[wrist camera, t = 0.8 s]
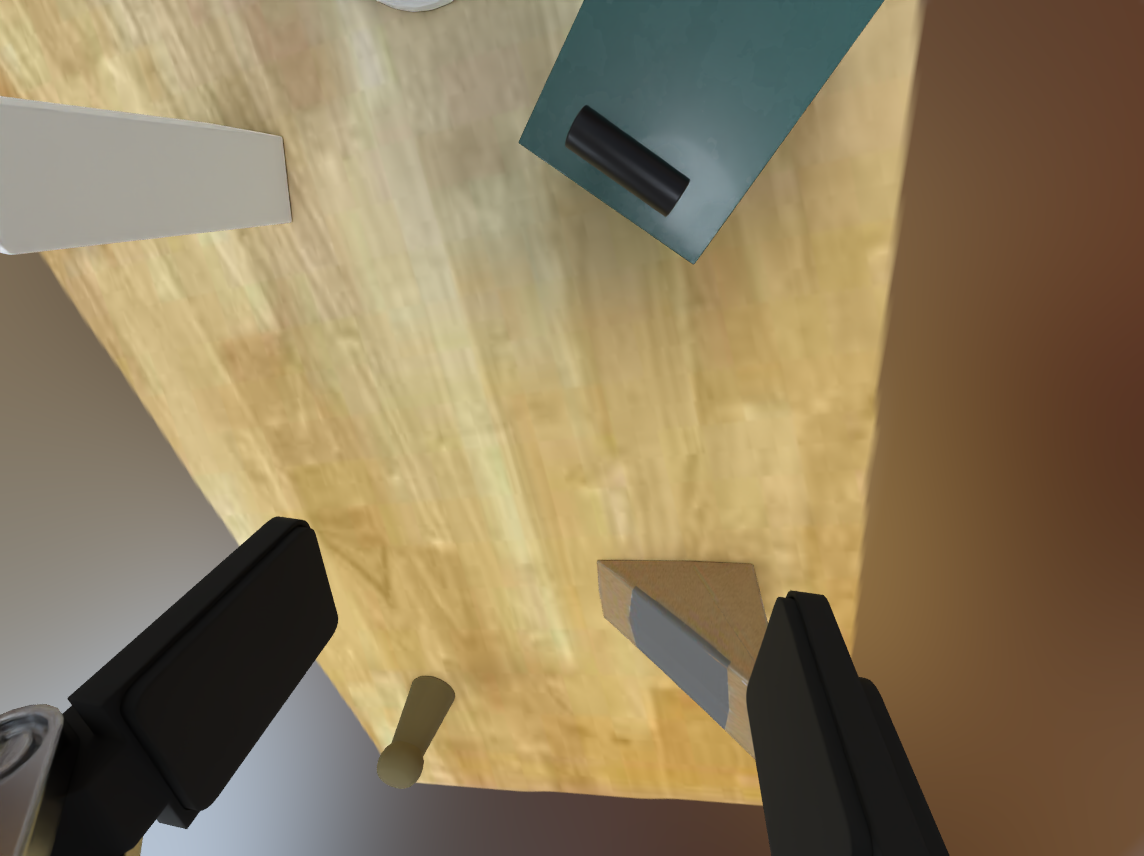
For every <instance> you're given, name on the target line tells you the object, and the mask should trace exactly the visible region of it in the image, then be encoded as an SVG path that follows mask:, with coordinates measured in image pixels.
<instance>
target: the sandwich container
mask: <svg viewBox="0 0 1144 856" xmlns="http://www.w3.org/2000/svg"><path fill="white" fill-rule="evenodd" d="M597 567H598V582H599V593H600V598H601V604H602V609H603V615H604V618H606V619H607V620H608V621H609V622H610V623H611V624H612V625H613V626H614V627H616V628H617V629H618V630H619V631H620V632H621V633H622V634H623V635H624V636H625V637H626V638H628V639H629V640H630V641H631V642H632V643H633V644H634V645H635V646H636V647H637V648H639V649H640V650H641V651H642V652H643V653H644V654H645V655H646V656H647V657H648V658H649V659H650V660H651V661H653V662H654V663H655V664H656V665H657V666H658V667H659V668H660V669H661V670H662V671H663V672H664V673H665V674H666V675H667V676H669V677H670V678H671V679H672V680H673V681H674V682H675V683H676V684H677V685H678V686H679V687H680V688H681V689H682V690H683V691H684V692H685V693H686V694H687V695H689V696H690V697H691V698H692V699H693V700H694V701H695V702H696V703H697V704H698V705H699V706H700V707H702V708H703V709H704V710H705V711H706V712H707V713H708V714H709V715H710V716H711V717H712V718H713V719H714V720H715V721H716V722H717V723H718V724H719V725H720V726H721V727H722V728H723V729H724V730H725V731H726V732H727V733H728V734H729V735H730V736H731V737H732V738H734V739H735V740H736V741H737V742H738V743H739V744H740V745H741V746H742V747H743V748H744V749H745V750H746V751H747V752H748V753H749V754H750V755H751V756H752V757H753V758H754V759H755V754H754V748H753V742H752V736H751V730H750V724H749V718H748V712H747V705H746V691H747V685H748V682H749V679H750V676H751V673H752V670H753V667H754V664H755V661H756V658H757V655H758V652H759V649H760V647H761V644H762V641H763V638H764V635H765V632H766V629H767V626H768V622H767V618H766V614H765V610H764V606H763V602H762V598H761V594H760V590H759V586H758V582H757V578H756V574H755V570H754V566H753V565H752V564H738V563H717V562H696V561H603V560H598V561H597Z"/></svg>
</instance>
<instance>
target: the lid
mask: <svg viewBox="0 0 1144 856" xmlns="http://www.w3.org/2000/svg"><path fill="white" fill-rule="evenodd" d="M883 2H884V0H584V1H583V4H582V6H581V8H580V10H579V12H578V14H577V17H576V19H575V21H574V23H573V25H572V27H571V30H570V32H569V34H568V36H567V38H566V40H565V43H564V45H563V47H562V49H561V51H560V53H559V56H558V58H557V60H556V62H555V64H554V66H553V68H552V71H551V73H550V75H549V77H548V79H547V81H546V84H545V86H544V88H543V90H542V92H541V94H540V97H539V99H538V101H537V103H536V105H535V107H534V110H533V112H532V114H531V116H530V118H529V120H528V123H527V125H526V127H525V129H524V131H523V133H522V136H521V138H520V140H519V144H521V145H522V146H524V147H525V148H526V149H528V150H529V151H531V152H532V153H534V154H535V155H537V156H538V157H539V158H541V159H542V160H544V161H545V162H547V163H548V164H549V165H551V166H552V167H554V168H555V169H557V170H558V171H560V172H561V173H562V174H564V175H565V176H567V177H568V178H570V179H571V180H572V181H574V182H575V183H577V184H578V185H580V186H581V187H583V188H584V189H585V190H587V191H588V192H590V193H591V194H593V195H594V196H595V197H597V198H598V199H600V200H601V201H603V202H604V203H606V204H607V205H608V206H610V207H611V208H613V209H614V210H616V211H617V212H618V213H620V214H621V215H623V216H624V217H626V218H627V219H629V220H630V221H631V222H633V223H634V224H636V225H637V226H639V227H640V228H641V229H643V230H644V231H646V232H647V233H649V234H650V235H652V236H653V237H654V238H656V239H657V240H659V241H660V242H662V243H663V244H664V245H666V246H667V247H669V248H670V249H672V250H673V251H675V252H676V253H677V254H679V255H680V256H682V257H683V258H685V259H686V260H687V261H689V262H690V263H692V264H695V263H696V261H697V260H698V258H699V257H700V256H701V254H702V253H703V252H704V250H705V249H706V247H707V246H708V245H709V243H710V242H711V240H712V239H713V238H714V236H715V235H716V233H717V232H718V231H719V229H720V228H721V227H722V225H723V224H724V222H725V221H726V220H727V218H728V217H729V215H730V214H731V213H732V211H733V210H734V208H735V207H736V206H737V204H738V203H739V202H740V200H741V199H742V197H743V196H744V195H745V193H746V192H747V190H748V189H749V188H750V186H751V185H752V183H753V182H754V181H755V179H756V178H757V177H758V175H759V174H760V172H761V171H762V170H763V168H764V167H765V165H766V164H767V163H768V161H769V160H770V159H771V157H772V156H773V154H774V153H775V152H776V150H777V149H778V147H779V146H780V145H781V143H782V142H783V140H784V139H785V138H786V136H787V135H788V134H789V132H790V131H791V129H792V128H793V127H794V125H795V124H796V122H797V121H798V120H799V118H800V117H801V115H802V114H803V113H804V111H805V110H806V109H807V107H808V106H809V104H810V103H811V102H812V100H813V99H814V97H815V96H816V95H817V93H818V92H819V90H820V89H821V88H822V86H823V85H824V84H825V82H826V81H827V79H828V78H829V77H830V75H831V74H832V72H833V71H834V70H835V68H836V67H837V65H838V64H839V63H840V61H841V60H842V59H843V57H844V56H845V54H846V53H847V52H848V50H849V49H850V47H851V46H852V45H853V43H854V42H855V40H856V39H857V38H858V36H859V35H860V34H861V32H862V31H863V29H864V28H865V27H866V25H867V24H868V22H869V21H870V20H871V18H872V17H873V15H874V14H875V13H876V11H877V10H878V9H879V7H880V6H881V4H882V3H883Z"/></svg>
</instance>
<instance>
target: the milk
mask: <svg viewBox="0 0 1144 856" xmlns="http://www.w3.org/2000/svg"><path fill="white" fill-rule="evenodd" d="M291 222H292V218H291V209H290V200H289V192H288V183H287V174H286V166H285V157H284V148H283V139H282V137H281V136H278V135H272V134H267V133H261V132H256V131H250V130H245V129H240V128H234V127H229V126H223V125H218V124H212V123H206V122H199V121H191V120H183V119H175V118H167V117H160V116H152V115H144V114H136V113H128V112H120V111H112V110H105V109H97V108H89V107H81V106H73V105H65V104H58V103H50V102H42V101H34V100H26V99H18V98H11V97H3V96H0V253H4V254H9V255H11V254H12V255H13V254H23V253H31V252H41V251H49V250H58V249H67V248H75V247H84V246H93V245H101V244H110V243H119V242H128V241H136V240H145V239H154V238H162V237H171V236H180V235H188V234H197V233H206V232H214V231H223V230H232V229H241V228H249V227H258V226H267V225H275V224H284V223H291Z"/></svg>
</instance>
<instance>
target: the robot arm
mask: <svg viewBox="0 0 1144 856" xmlns="http://www.w3.org/2000/svg"><path fill="white" fill-rule="evenodd" d="M376 1H378V2H380V3H383V4H385V5H387V6H390V7H392V8H394V9H399V10H405V11H411V12H417V11H428V10H433V9H436V8H438V7H441V6H444V5H447V4H449V3H450V2H452V1H453V0H376ZM337 624H338V614H337V611H336V607H335V603H334V600H333V596H332V592H331V589H330V585H329V581H328V578H327V574H326V570H325V567H324V563H323V559H322V556H321V552H320V548H319V545H318V541H317V537H316V534H315V532H314V530H313V529H311V528H310V526H309V524H308V523H307V522H306V521H305V520H299V519H292V518H285V517H274V518H272V519H271V520H269V521H268V522H267V523H266V524H264V525H263V526H262V527H261V528H260V529H259V530H258V531H256V532H255V533H254V534H253V535H252V536H251V537H250V538H249V539H247V540H246V541H245V542H244V543H243V544H242V545H241V546H239V547H238V549H236V550H235V551H234V552H233V553H231V554H230V555H229V556H228V557H227V558H226V559H225V560H224V561H222V562H221V563H220V564H219V565H218V566H217V567H216V568H214V569H213V570H212V571H211V572H210V573H209V574H208V575H207V576H205V577H204V578H203V579H202V580H201V581H200V582H199V583H197V584H196V585H195V586H194V587H193V588H192V589H191V590H190V591H188V592H187V593H186V594H185V595H184V596H183V597H182V598H181V599H179V600H178V601H177V602H176V603H175V604H174V605H173V606H171V607H170V608H169V609H168V610H167V611H166V612H165V613H163V614H162V615H161V616H160V617H159V618H158V619H157V620H155V621H154V622H153V623H152V624H151V625H150V626H149V627H148V628H146V629H145V630H144V631H143V632H142V633H141V634H140V635H138V636H137V638H135V639H134V640H133V641H132V642H131V643H130V644H128V645H127V646H126V647H125V648H124V649H123V650H122V651H120V652H119V653H118V654H117V655H116V656H115V657H114V658H112V659H111V660H110V661H109V662H108V663H107V664H106V665H105V666H103V667H102V668H101V669H100V670H99V671H98V672H96V673H95V674H94V675H93V676H92V677H91V678H90V679H89V680H87V681H86V682H85V683H84V684H83V685H82V686H81V687H80V688H78V689H77V690H76V691H75V692H74V693H73V694H72V695H70V696H69V697H68V700H69V702H70V703H71V704H72V706H71V707H70V708H69V709H67V710H66V711H65V712H64V713H63V714H62V713H61V712H60V711H59V709H58V708H56V707H53V706H50V705H47V704H40V705H29V706H25V707H21V708H17V709H13V710H11V711H8V712H6V713H3V714H1V715H0V856H140V853H141V846H142V839H143V836H144V834H145V833H146V832H147V830H148V829H149V828H150V827H151V825H152V824H153V823H154V821H155V820H156V819H157V820H158V822H159V823H163V824H167V825H172V826H176V827H180V828H185V829H187V828H188V827H189V826H190V824H191V823H192V822H193V820H194V819H195V817H196V816H197V815H198V813H199V812H200V811H201V810H204V809H206V808H208V807H209V806H210V805H211V804H212V803H213V802H214V801H215V800H216V798H217V797H218V796H219V794H220V793H221V792H222V790H223V789H224V787H225V786H226V785H227V783H228V782H229V780H230V779H231V777H232V776H233V775H234V773H235V772H236V771H237V769H238V767H239V766H240V765H241V764H242V762H243V761H244V759H245V758H246V756H247V755H248V754H249V752H250V751H251V749H252V748H253V747H254V745H255V744H256V742H257V741H258V740H259V738H260V737H261V735H262V734H263V733H264V731H265V730H266V728H267V727H268V726H269V724H270V723H271V721H272V720H273V718H274V717H275V716H276V714H277V713H278V711H279V710H280V709H281V707H282V705H283V704H284V703H285V702H286V700H287V699H288V697H289V696H290V695H291V693H292V692H293V690H294V689H295V688H296V686H297V685H298V683H299V682H300V680H301V679H302V678H303V676H304V675H305V674H306V672H307V671H308V669H309V668H310V667H311V665H312V663H313V662H314V661H315V659H316V658H317V657H318V655H319V654H320V652H321V651H322V650H323V648H324V647H325V645H326V644H327V643H328V641H329V640H330V638H331V637H332V636H333V634H334V632H335V630H336V628H337ZM746 705H747V712H748V718H749V724H750V730H751V736H752V742H753V748H754V754H755V760H756V766H757V772H758V778H759V784H760V790H761V796H762V802H763V808H764V813H765V820H766V826H767V832H768V838H769V844H770V850H771V856H949V853H948V851H947V849H946V846H945V844H944V842H943V839H942V837H941V835H940V832H939V830H938V828H937V825H936V823H935V821H934V819H933V816H932V814H931V811H930V809H929V807H928V804H927V802H926V800H925V797H924V795H923V793H922V790H921V789H920V786H919V784H918V781H917V779H916V776H915V774H914V772H913V769H912V767H911V765H910V763H909V760H908V758H907V755H906V753H905V751H904V748H903V746H902V744H901V741H900V739H899V737H898V734H897V732H896V730H895V727H894V725H893V723H892V720H891V718H890V716H889V713H888V711H887V709H886V706H885V704H884V702H883V699H882V697H881V695H880V693H879V691H878V689H877V688H876V686H875V685H874V684H873V683H872V682H871V681H870V680H868V679H866V678H862V677H858V675H857V672H856V670H855V667H854V665H853V662H852V660H851V657H850V655H849V652H848V650H847V647H846V645H845V642H844V640H843V637H842V634H841V632H840V629H839V627H838V624H837V622H836V619H835V617H834V614H833V612H832V609H831V607H830V604H829V602H828V600H827V598H826V597H825V596H824V595H819V594H812V593H805V592H798V591H789V592H788V594H787V596H786V598H784V597H778V598H777V600H776V602H775V605H774V608H773V611H772V614H771V617H770V620H769V623H768V626H767V629H766V632H765V635H764V638H763V641H762V644H761V647H760V649H759V652H758V655H757V658H756V661H755V664H754V667H753V670H752V673H751V676H750V679H749V682H748V685H747V691H746Z"/></svg>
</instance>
